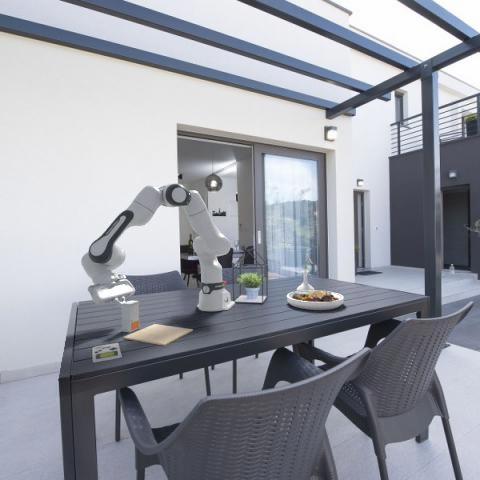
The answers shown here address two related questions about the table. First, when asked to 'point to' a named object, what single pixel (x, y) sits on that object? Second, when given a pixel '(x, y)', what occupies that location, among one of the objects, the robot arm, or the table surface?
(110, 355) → the handheld gaming device
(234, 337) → the table surface
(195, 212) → the robot arm
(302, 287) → the flower in vase
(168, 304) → the table surface
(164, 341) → the mat
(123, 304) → the skincare box
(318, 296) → the bowl
